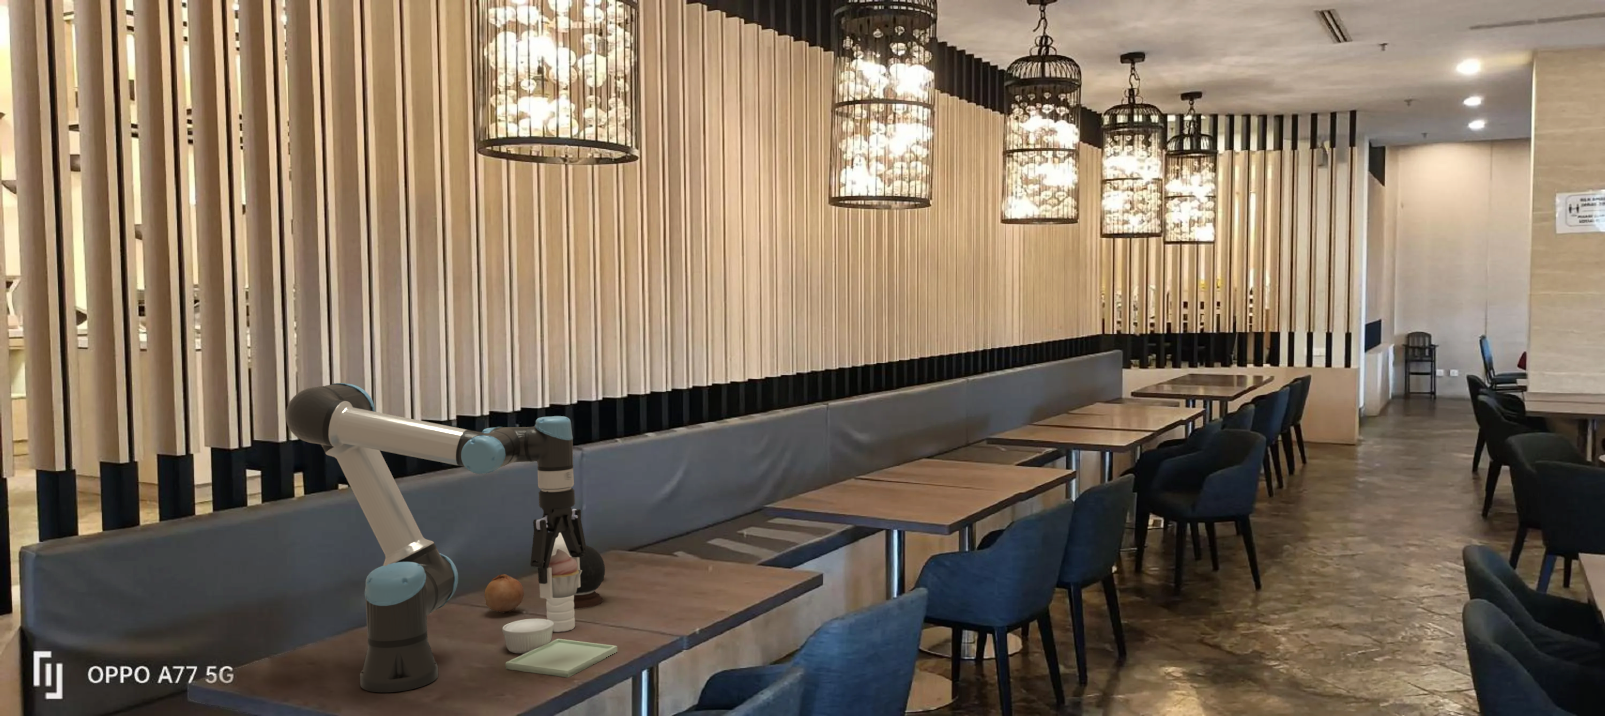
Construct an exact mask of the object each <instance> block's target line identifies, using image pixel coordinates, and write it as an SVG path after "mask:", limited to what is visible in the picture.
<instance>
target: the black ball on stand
mask: <svg viewBox="0 0 1605 716" xmlns="http://www.w3.org/2000/svg"><path fill="white" fill-rule="evenodd" d="M579 546H581V545H579ZM584 553H585V555H584V557H580V570H582V572H581V574H580V585H581V587H579V588H577V592H576V594H574V600H573V601H574V610H575V609H577V610H578V609H587V608H591V607H595V606H599V605H601V604H602V602H603V597H602V596H601V595H600V593H598V592H597V591H596V590H597V589H598V588H599V587H600V586H601V584H602V582H603V581H604V578H605V574H606V567H605V562H604V559H603V557H602V555H601V553H599V552H598V550H596V549H594V548H593V547H591V546H589V545H586V551H585V552H584Z"/></svg>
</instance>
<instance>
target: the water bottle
mask: <svg viewBox="0 0 1605 716" xmlns="http://www.w3.org/2000/svg"><path fill="white" fill-rule="evenodd" d="M557 549H559V550H562V551H564V552H566V553H567V554H568V555H569V557H571V556H570V554H569V552H568V549H567V547H566V544H565V542H564V539H563V537H562V534H561V533H559V535H558V537H557V538H556V539H555V543H554V547H553V551H552V555H551V556H553V555H555V554H556V551H557ZM545 600H546V602H545V604H546V606H545V608H546V618H547V620H550V621H552V622H553V623H554V628H553V631H552V633H553V632H554V633H561V632H562V633H563V632H569V631H571V630H573V629H575V626H576V619H575V618H576V617H575V615H576V613H575V609H574V601H573V600H574V595H572V596H569V597H565V598H552V599H546V598H545Z"/></svg>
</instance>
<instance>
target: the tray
mask: <svg viewBox="0 0 1605 716" xmlns="http://www.w3.org/2000/svg"><path fill="white" fill-rule="evenodd" d="M616 652H617V653H618V646H617V645H612V644H605V643H596V642H587V641H581V640H580V641H578V640H572V639H564V638H563V639H562V638H556V639H554V640H551V642H549V643H547V644H545V645H543V646H541V647H538V648H536V649H534V650H532V651H530V652H527V653H522V654H521V655H519V656H517V657H514V658H512V659H510V660H508V661H506V662H505V670H511V671H518V672H525V673H531V674H537V675H538V674H540V675H547V676H554V677H559V678H560V677H561V678H570V677H572V676H574V675H576V674H578V673H580V672H582V671H584V670H586V669H588V668H590V667H591V666H594V665H595V664H598V663H600V662H601V661H604V660H605V659H607V658H609V657H611V656H613V655H614V653H615V654H617V653H616ZM612 654H613V655H612ZM610 655H611V656H610ZM608 656H609V657H608ZM606 657H607V658H606ZM593 664H594V665H593Z"/></svg>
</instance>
